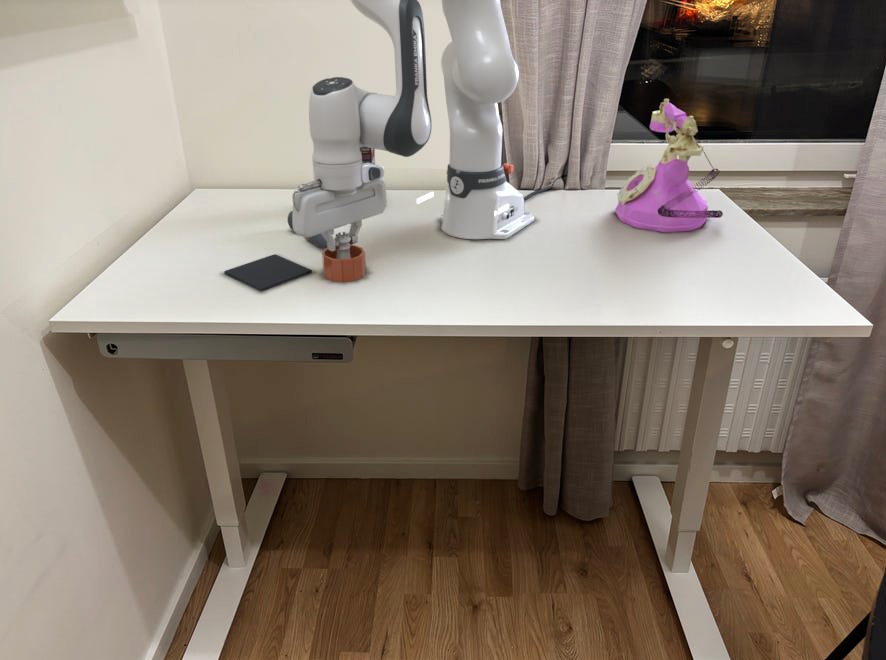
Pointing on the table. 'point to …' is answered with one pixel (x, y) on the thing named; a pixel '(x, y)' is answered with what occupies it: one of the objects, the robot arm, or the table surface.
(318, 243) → the paintbrush
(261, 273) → the pad
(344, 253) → the rook chess piece
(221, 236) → the table surface
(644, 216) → the telephone
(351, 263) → the brown hollow cylinder
